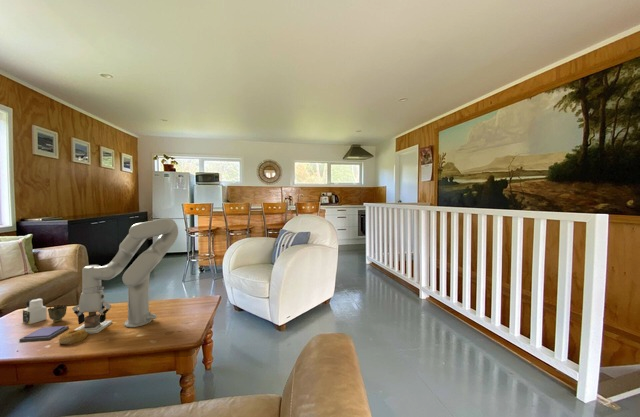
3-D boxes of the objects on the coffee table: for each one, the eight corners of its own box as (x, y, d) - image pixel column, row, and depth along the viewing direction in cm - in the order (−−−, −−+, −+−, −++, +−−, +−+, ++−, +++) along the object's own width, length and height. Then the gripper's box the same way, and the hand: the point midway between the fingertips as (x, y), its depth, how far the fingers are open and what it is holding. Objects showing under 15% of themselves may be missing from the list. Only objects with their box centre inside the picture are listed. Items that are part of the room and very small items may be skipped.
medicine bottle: (22, 322, 145) (22, 300, 144) (40, 317, 151) (40, 296, 151) (29, 324, 142) (29, 302, 142) (47, 319, 148) (46, 297, 148)
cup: (54, 325, 141) (54, 310, 141) (44, 323, 143) (44, 309, 143) (70, 319, 149) (70, 305, 149) (60, 318, 150) (60, 304, 150)
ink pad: (68, 328, 138) (68, 325, 138) (49, 339, 126) (49, 336, 126) (41, 329, 136) (41, 326, 136) (19, 341, 124) (19, 338, 124)
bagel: (93, 333, 133) (93, 324, 132) (77, 345, 122) (77, 335, 122) (71, 335, 131) (70, 325, 131) (52, 347, 120) (52, 336, 120)
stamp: (100, 323, 140) (100, 309, 140) (94, 327, 136) (94, 313, 136) (90, 324, 140) (90, 310, 140) (84, 328, 135) (84, 313, 135)
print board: (112, 322, 145) (112, 320, 145) (97, 333, 133) (97, 330, 133) (87, 324, 143) (87, 321, 143) (70, 334, 131) (70, 332, 131)
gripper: (114, 286, 143) (115, 318, 143) (78, 288, 140) (78, 320, 140) (106, 291, 135) (106, 324, 135) (67, 292, 132) (67, 326, 133)
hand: (92, 322), depth 138 cm, fingers open, 9 cm apart
